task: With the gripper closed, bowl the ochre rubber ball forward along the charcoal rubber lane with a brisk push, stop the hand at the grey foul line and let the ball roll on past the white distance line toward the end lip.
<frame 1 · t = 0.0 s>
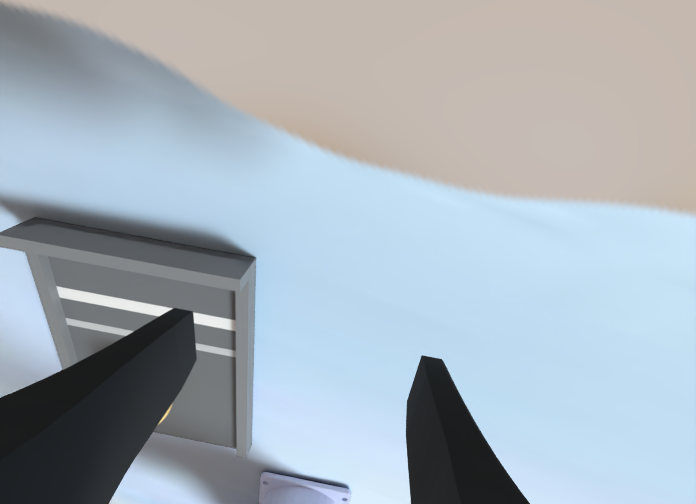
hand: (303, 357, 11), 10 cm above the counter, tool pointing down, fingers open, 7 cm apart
lane: (159, 348, 26), on the counter
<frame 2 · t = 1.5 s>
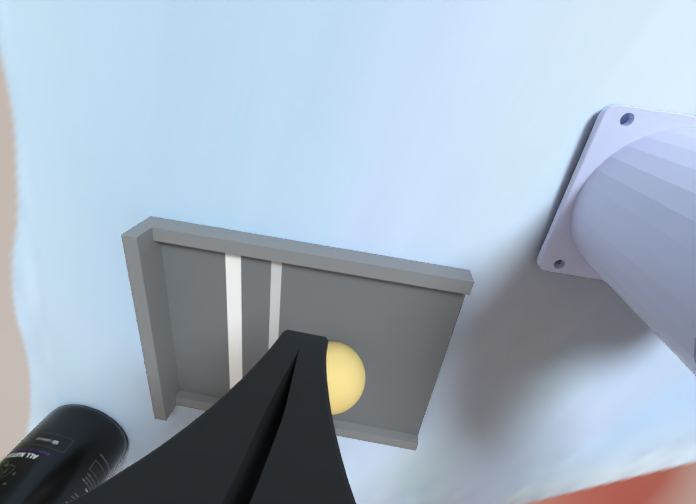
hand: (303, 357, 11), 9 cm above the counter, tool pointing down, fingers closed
lane: (299, 339, 23), on the counter
ball: (335, 352, 23), point 1 cm above the counter, touching lane
supplement bottle: (92, 427, 31), on the counter
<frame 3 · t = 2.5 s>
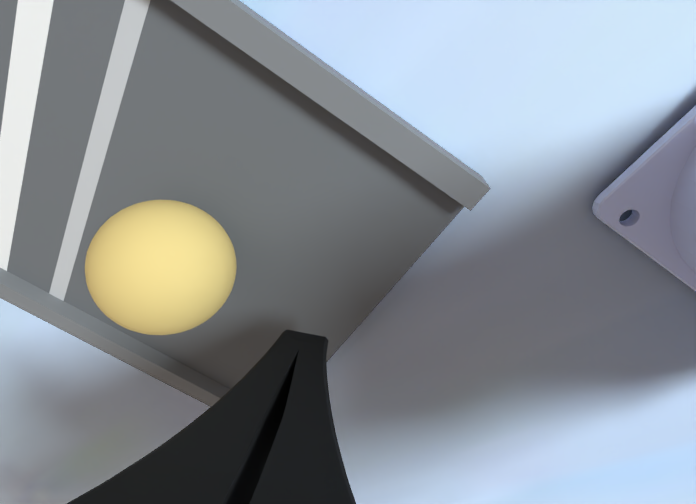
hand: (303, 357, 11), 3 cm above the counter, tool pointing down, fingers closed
lane: (143, 193, 13), on the counter
ball: (199, 238, 13), point 1 cm above the counter, touching lane
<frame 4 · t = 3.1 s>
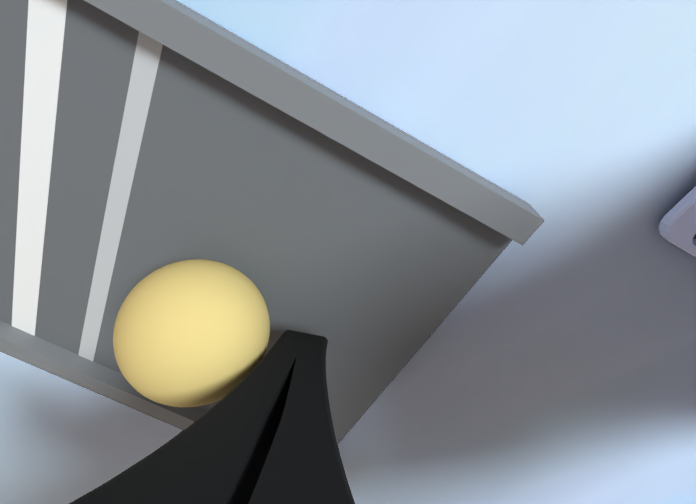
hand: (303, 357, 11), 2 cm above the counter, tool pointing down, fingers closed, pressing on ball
lane: (166, 248, 12), on the counter
ball: (227, 291, 12), point 1 cm above the counter, touching gripper, lane
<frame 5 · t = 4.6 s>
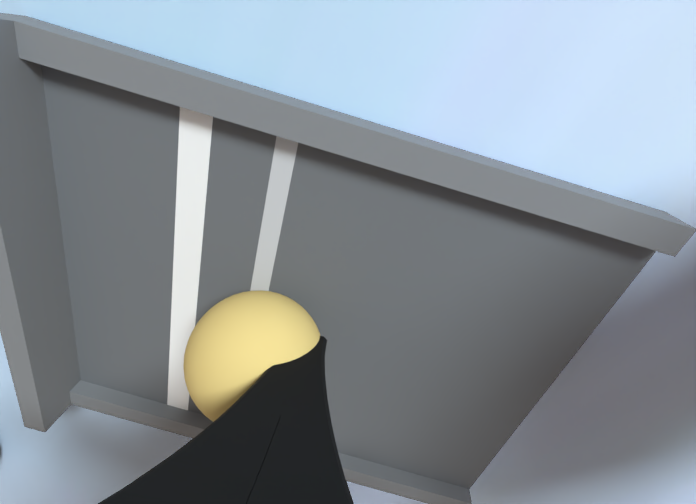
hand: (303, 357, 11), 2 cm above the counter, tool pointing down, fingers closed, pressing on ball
lane: (301, 313, 13), on the counter
ball: (320, 377, 11), point 3 cm above the counter, tilted 92°, touching gripper, lane
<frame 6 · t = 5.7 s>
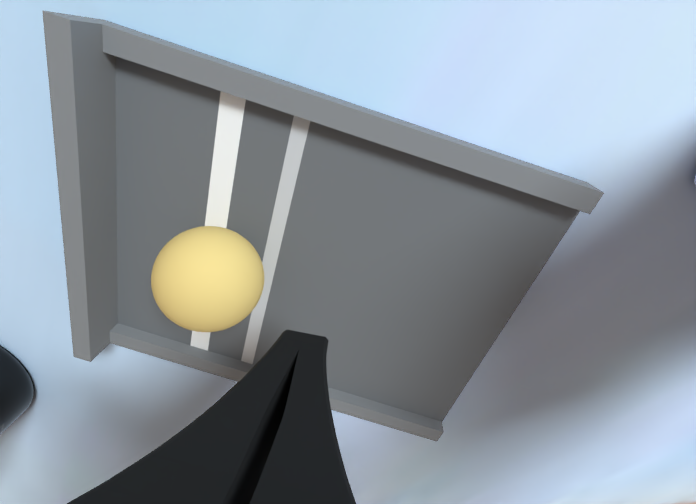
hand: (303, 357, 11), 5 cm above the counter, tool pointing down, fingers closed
lane: (306, 265, 16), on the counter
ball: (204, 317, 12), point 4 cm above the counter, tilted 160°, touching lane
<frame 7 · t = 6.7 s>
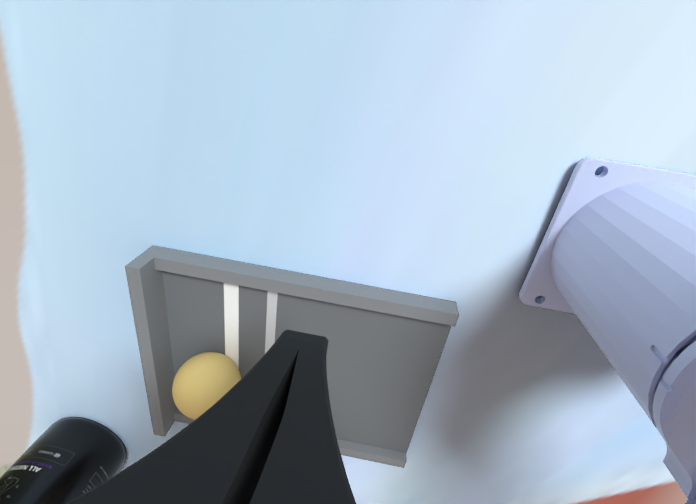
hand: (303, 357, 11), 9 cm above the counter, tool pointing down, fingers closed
lane: (293, 361, 25), on the counter
ball: (180, 411, 21), point 4 cm above the counter, tilted 150°, touching lane
supplement bottle: (92, 438, 32), on the counter
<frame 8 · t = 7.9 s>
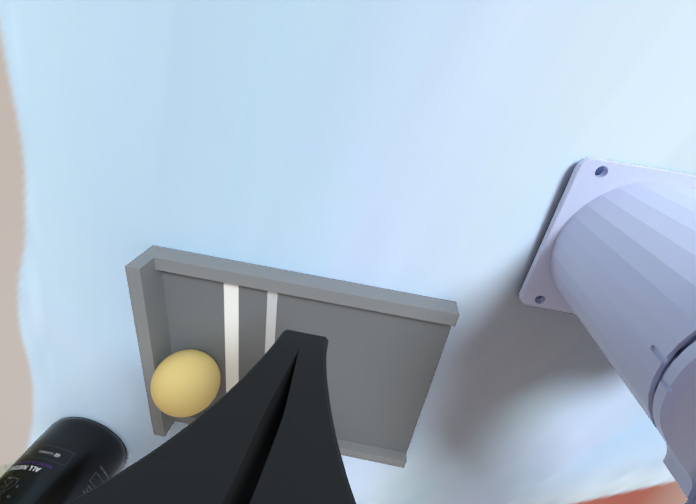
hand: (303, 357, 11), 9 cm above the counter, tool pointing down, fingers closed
lane: (293, 361, 25), on the counter
ball: (153, 393, 23), point 3 cm above the counter, tilted 112°, touching lane
supplement bottle: (92, 438, 32), on the counter
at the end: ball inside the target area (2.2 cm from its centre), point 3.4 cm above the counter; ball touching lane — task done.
